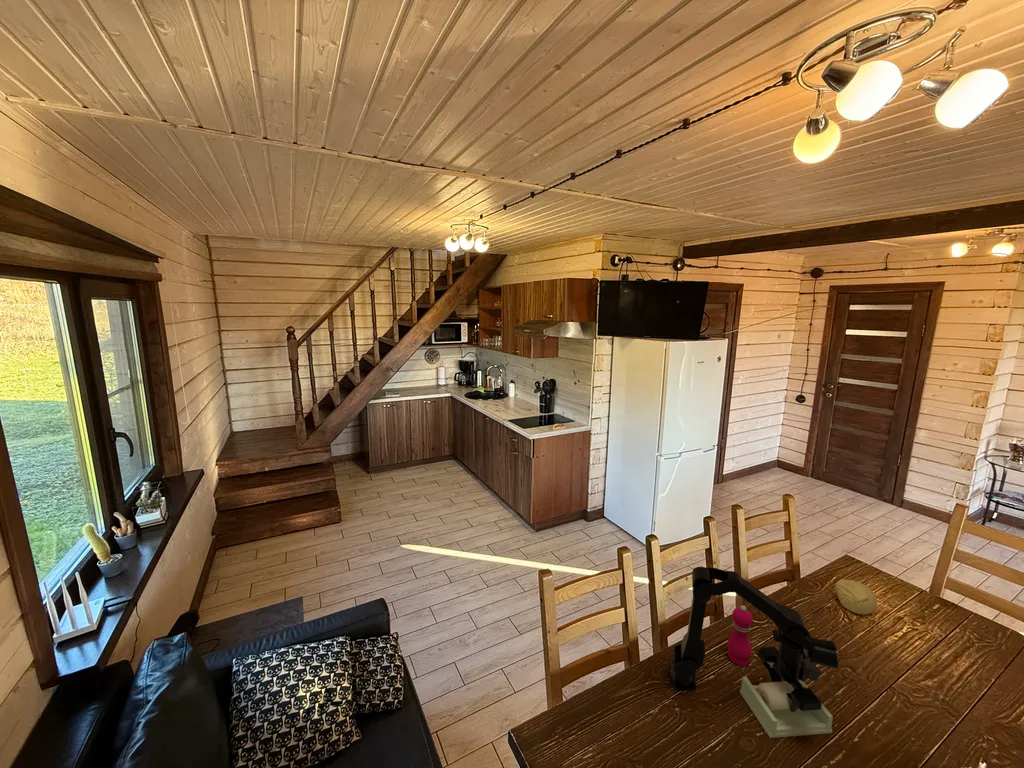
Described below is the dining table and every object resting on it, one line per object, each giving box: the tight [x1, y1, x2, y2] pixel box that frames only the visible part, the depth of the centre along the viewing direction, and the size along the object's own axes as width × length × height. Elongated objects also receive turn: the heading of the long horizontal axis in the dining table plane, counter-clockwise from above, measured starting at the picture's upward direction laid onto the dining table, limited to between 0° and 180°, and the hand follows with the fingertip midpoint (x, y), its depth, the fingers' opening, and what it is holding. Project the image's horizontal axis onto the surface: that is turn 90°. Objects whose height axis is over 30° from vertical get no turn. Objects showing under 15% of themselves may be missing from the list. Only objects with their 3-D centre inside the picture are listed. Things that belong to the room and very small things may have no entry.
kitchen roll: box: [758, 680, 809, 710], centre depth 121 cm, size 13×6×6 cm, turn 93°
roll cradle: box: [739, 675, 834, 739], centre depth 122 cm, size 18×14×6 cm
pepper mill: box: [727, 605, 754, 667], centre depth 139 cm, size 7×7×20 cm
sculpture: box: [834, 578, 878, 615], centre depth 162 cm, size 12×12×11 cm
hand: (784, 700), depth 121 cm, fingers closed on kitchen roll, 6 cm apart
